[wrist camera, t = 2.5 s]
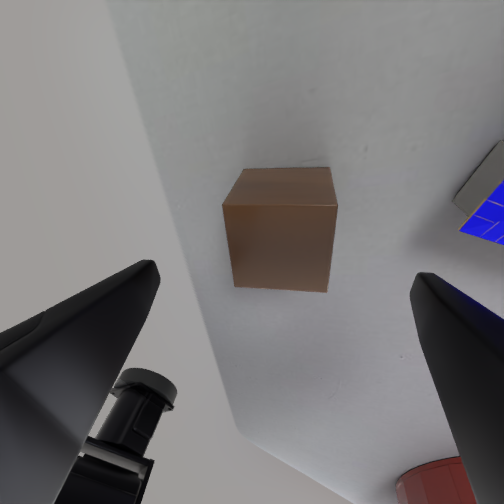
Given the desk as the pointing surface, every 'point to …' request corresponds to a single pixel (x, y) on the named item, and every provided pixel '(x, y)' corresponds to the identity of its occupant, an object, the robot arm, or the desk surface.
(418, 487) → the red round bowl
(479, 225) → the house
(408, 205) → the desk surface
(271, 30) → the desk surface
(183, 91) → the desk surface
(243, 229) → the block
